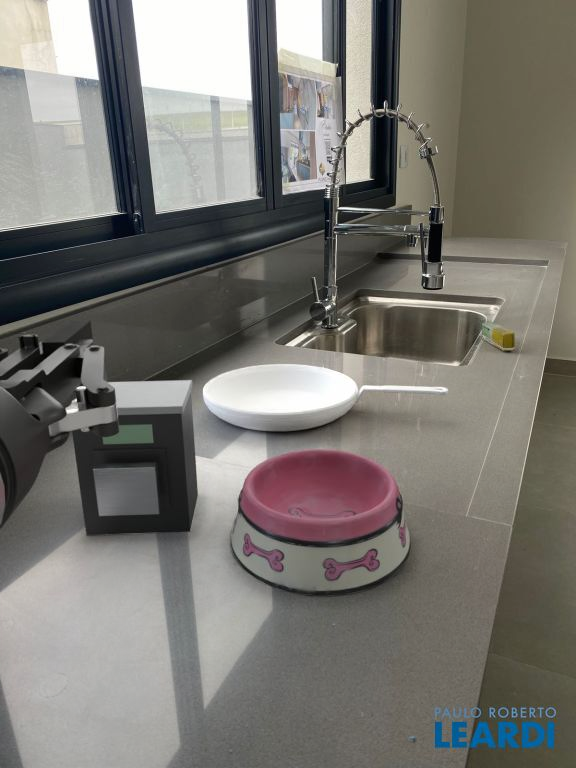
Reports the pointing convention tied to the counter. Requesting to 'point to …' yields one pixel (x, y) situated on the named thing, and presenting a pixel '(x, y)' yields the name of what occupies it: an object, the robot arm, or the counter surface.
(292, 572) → the dog bowl
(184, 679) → the counter surface
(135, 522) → the dispenser
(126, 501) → the push plate
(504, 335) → the medication box
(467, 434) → the counter surface
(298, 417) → the pan
